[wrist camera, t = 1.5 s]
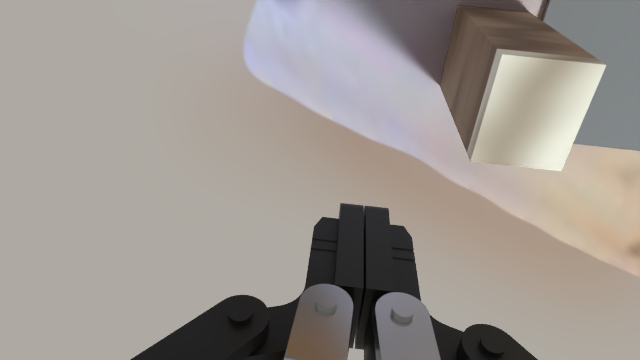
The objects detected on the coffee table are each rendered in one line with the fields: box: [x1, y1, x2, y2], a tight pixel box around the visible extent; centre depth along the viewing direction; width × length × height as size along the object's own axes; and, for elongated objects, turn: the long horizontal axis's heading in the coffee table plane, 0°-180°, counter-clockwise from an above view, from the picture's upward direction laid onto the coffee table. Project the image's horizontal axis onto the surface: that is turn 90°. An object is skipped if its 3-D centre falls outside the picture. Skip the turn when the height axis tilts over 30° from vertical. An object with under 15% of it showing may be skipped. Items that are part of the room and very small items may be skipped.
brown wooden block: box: [440, 5, 606, 171], centre depth 28 cm, size 5×6×12 cm
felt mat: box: [542, 0, 640, 151], centre depth 33 cm, size 16×13×1 cm
